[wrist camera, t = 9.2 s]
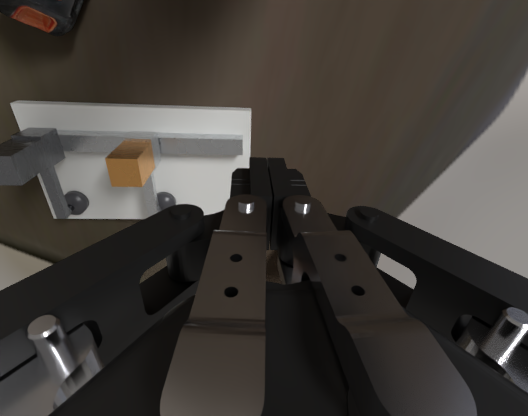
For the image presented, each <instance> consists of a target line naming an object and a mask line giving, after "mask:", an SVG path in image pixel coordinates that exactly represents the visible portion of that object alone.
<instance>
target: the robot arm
mask: <svg viewBox="0 0 528 416" xmlns="http://www.w3.org/2000/svg"><path fill="white" fill-rule="evenodd" d="M269 241H270V250H278V260H277V267H278V271H279V275H280V279H281V283H282V284H279V283H273V282H268V281H266V250H269ZM381 253H382V254H384V255H386V256H387V257H389V258H391V259H393V260H395V261H396V262H398V263H400V264H402V265H404V266H405V267H407V268H409V269H410V270H411V271H412V272H413V273H414V274H415V276H416V280H417V283H416V286H415V288H414V289H412V288H410V287H408V286H407V285H405V284H403V283H401V282H400V281H398V280H397V279H395V278H393V277H392V276H390V275H388V274H387V273H385V272H383V271H382V270H380V269H378V268H377V264H378V261H379V257H380V254H381ZM164 258H166V261H167V266H166V267H164V268H163V269H161V270H160V271H158V272H157V273H155V274H154V275H152V276H151V277H149V278H148V279H146V280H145V281H143V282H142V283H141V284H139V282H140V278H141V276H142V275H143V273H144V272H145V271H146V270H147V269H149V268H150V267H152V266H153V265H155V264H156V263H158V262H160V261H161V260H163V259H164ZM195 294H196V295H195ZM0 416H528V279H527V278H525V277H523V276H521V275H519V274H517V273H514V272H512V271H510V270H508V269H506V268H504V267H501V266H499V265H497V264H495V263H493V262H491V261H488V260H486V259H484V258H482V257H480V256H477V255H475V254H473V253H471V252H469V251H467V250H465V249H462V248H460V247H458V246H456V245H454V244H452V243H449V242H447V241H445V240H443V239H440V238H439V237H436V236H434V235H432V234H430V233H428V232H425V231H423V230H421V229H419V228H417V227H415V226H413V225H410V224H408V223H406V222H404V221H402V220H400V219H397V218H395V217H393V216H391V215H389V214H387V213H384V212H382V211H380V210H378V209H375V208H372V207H366V206H356V207H352V208H350V209H349V210H348V211H347V215H346V217H343V216H338V215H333V214H329V213H327V212H326V210H325V209H324V207H323V205H322V204H321V202H320V201H318V200H317V199H315V198H312V197H311V195H310V193H309V190H308V188H307V186H306V183H305V181H304V178H303V175H302V174H301V173H300V172H299V171H297V170H296V169H287V167H286V164H285V160H284V158H267V161H266V158H256V157H249V168H237V169H236V170H235V171H234V172H232V178H231V190H230V199H228V200H227V202H226V205H225V209H224V210H222V211H220V212H217V213H214V214H209V215H204V212H203V210H202V209H201V208H200V207H198V206H195V205H191V204H178V205H173V206H170V207H168V208H166V209H164V210H162V211H160V212H158V213H156V214H154V215H152V216H150V217H148V218H146V219H144V220H142V221H140V222H138V223H136V224H134V225H132V226H129V227H127V228H125V229H123V230H121V231H119V232H117V233H115V234H113V235H111V236H109V237H107V238H105V239H103V240H101V241H99V242H97V243H95V244H93V245H91V246H89V247H87V248H85V249H83V250H81V251H79V252H77V253H75V254H73V255H71V256H69V257H67V258H65V259H63V260H61V261H59V262H57V263H55V264H53V265H51V266H49V267H47V268H46V269H43V270H41V271H39V272H37V273H35V274H33V275H31V276H29V277H27V278H25V279H23V280H21V281H19V282H17V283H15V284H13V285H11V286H9V287H7V288H5V289H3V290H1V291H0Z"/></svg>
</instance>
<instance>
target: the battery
mask: <svg viewBox="0 0 528 416" xmlns="http://www.w3.org/2000/svg"><path fill="white" fill-rule="evenodd" d="M83 1H84V0H0V12H1V13H3V14H5V15H6V16H8V17H11V18H13V19H15V20H17V21H20V22H23V23H25V24H28V25H30V26H33V27H37V28H38V29H40V30H43V31H45V32H47V33H49V34H52V35H54V36H61V35H64V34H65V33H67V32H69V31H71V29H72V28H73V26H74V24H75V22H76V20H77V17H78V14H79V12H80V9H81V7H82V4H83Z"/></svg>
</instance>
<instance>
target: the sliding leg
mask: <svg viewBox="0 0 528 416" xmlns="http://www.w3.org/2000/svg"><path fill="white" fill-rule="evenodd" d="M105 161H106V165H107V169H108V173H109V178H110V182H111V186H112V187H143V189H144V195H145V200H146V205H147V211H148V216H149V217H150V216H152V215H154V214H156V213H158V212H160V211H161V210H162V207H161V206H160V205H159V204H158V198H157V191H156V185H155V179H154V173H153V170H156V168H157V167H158V165H159V163H160V162H161V154H160V147H159V140H158V133H157V132H149V131H130V132H129V133H128V134H127V135H126V136H125V137H124V138H123V142H122V143H121V144H120V145H119V146H118V147H117V148H115V149H114V150H113V151H112V152H111V153H110V154H109V155H108V156H107V157H106V158H105Z"/></svg>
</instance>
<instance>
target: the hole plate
mask: <svg viewBox="0 0 528 416" xmlns="http://www.w3.org/2000/svg"><path fill="white" fill-rule="evenodd" d="M10 105H11V107H12V110H13V112H14V115H15V118H16V120H17V123H18V126H19V128H20V131H22V130H24V129H27V128H29V127H30V128H56V129H57V130H85V131H122V132H130V131H149V132H160V133H197V134H235V135H243V155H208V154H162V153H160V154H161V162H160V163H159V165H158V167H157V168H156V170H153V173H154V179H155V185H156V191H157V198H158V204H159V205H160V206H161V207H162V210H164V209H166V208H168V207H170V206H173V205H178V204H191V205H195V206H198V207H200V208H201V209H202V210H203V212H204V215H209V214H214V213H217V212H220V211H222V210H224V209H225V205H226V202H227V200H228V199H230V190H231V178H232V172H234V171H235V170H236V169H237V168H249V157H250V141H251V108H232V107H201V106H171V105H141V104H111V103H81V102H51V101H21V100H18V101H15V102H12V103H10ZM110 153H111V152H70V151H64V154H65V158H64V159H63V160H62V161H60V162H59V163H57V164H56V165H55V166H54V168H55V170H56V173H57V176H58V179H59V182H60V185H61V188H62V191H63V194H64V197H65V200H66V203H67V205H68V204H71V205H73V206H74V207H75V209H74V210H73V211H72V212H71V213H70V214H71V215H70V216H69V217H68V218H67V219H146V218H148V217H149V216H148V211H147V205H146V200H145V195H144V189H143V187H112V186H111V182H110V178H109V173H108V169H107V165H106V161H105V158H106V157H107V156H108V155H109V154H110ZM37 176H38V178H39V181H40V183H41V186H42V189H43V191H44V194H45V197H46V199H47V202H48V204H49V207H50V210H51V212H52V215H53V218H54V219H57V218H56V215H55V212H54V210H53V207H52V204H51V202H50V199H49V196H48V194H47V191H46V188H45V186H44V183H43V180H42V178H41V175H40V173H39V174H38V175H37ZM162 210H161V211H162Z"/></svg>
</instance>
